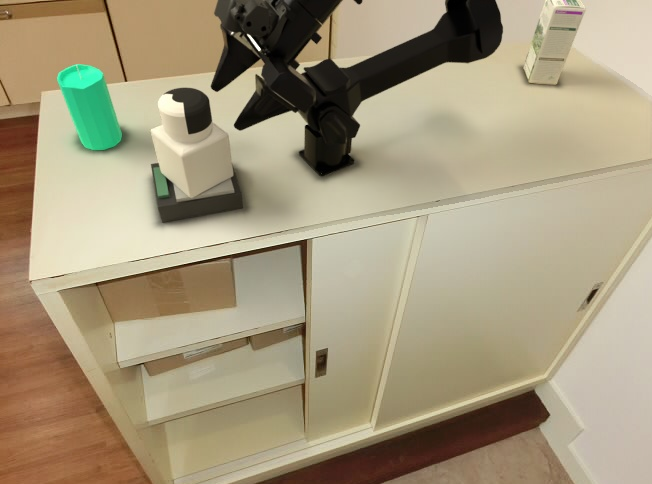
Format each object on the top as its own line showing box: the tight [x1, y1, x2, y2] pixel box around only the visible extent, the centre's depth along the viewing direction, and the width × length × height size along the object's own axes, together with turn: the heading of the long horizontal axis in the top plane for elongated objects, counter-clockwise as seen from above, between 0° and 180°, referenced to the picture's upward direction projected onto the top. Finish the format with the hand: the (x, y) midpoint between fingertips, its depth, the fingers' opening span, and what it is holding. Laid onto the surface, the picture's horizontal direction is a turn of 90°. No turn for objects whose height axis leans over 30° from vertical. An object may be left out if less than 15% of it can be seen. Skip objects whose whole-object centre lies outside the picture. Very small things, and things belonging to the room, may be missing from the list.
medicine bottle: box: [150, 87, 234, 198], centre depth 68 cm, size 7×7×12 cm
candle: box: [56, 63, 123, 151], centre depth 77 cm, size 6×6×12 cm
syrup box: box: [522, 0, 587, 86], centre depth 97 cm, size 6×6×14 cm
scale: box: [150, 162, 244, 223], centre depth 74 cm, size 11×9×3 cm
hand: (224, 108), depth 67 cm, fingers open, 9 cm apart
